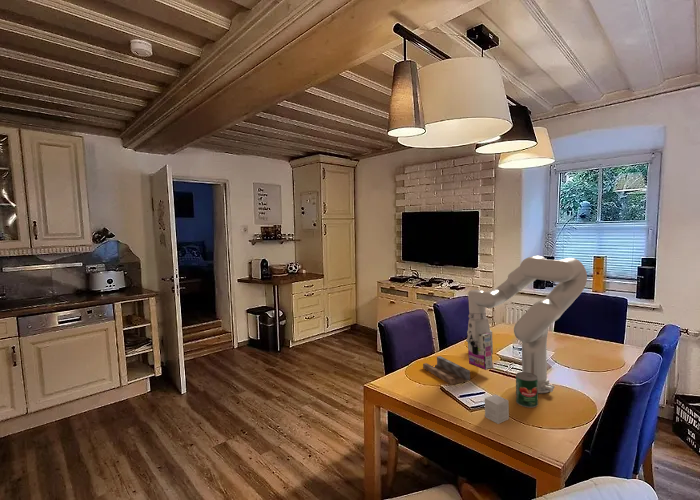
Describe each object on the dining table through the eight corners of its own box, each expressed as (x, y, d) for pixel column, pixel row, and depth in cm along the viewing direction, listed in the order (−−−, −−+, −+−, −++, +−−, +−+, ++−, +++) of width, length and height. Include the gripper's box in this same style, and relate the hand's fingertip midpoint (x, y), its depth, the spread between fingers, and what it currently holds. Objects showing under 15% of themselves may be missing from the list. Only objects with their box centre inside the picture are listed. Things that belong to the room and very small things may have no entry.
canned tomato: (525, 409, 140) (525, 381, 139) (511, 400, 147) (511, 373, 147) (542, 405, 142) (542, 378, 141) (527, 396, 149) (527, 370, 149)
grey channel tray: (470, 380, 167) (469, 370, 167) (451, 385, 163) (451, 375, 163) (440, 364, 188) (439, 356, 187) (423, 368, 183) (422, 359, 183)
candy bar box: (493, 368, 171) (491, 333, 170) (485, 370, 169) (483, 335, 168) (476, 361, 181) (474, 329, 180) (468, 363, 179) (466, 330, 178)
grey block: (495, 412, 138) (495, 393, 138) (509, 419, 133) (509, 400, 133) (484, 417, 135) (484, 398, 135) (498, 424, 130) (497, 404, 130)
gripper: (469, 320, 167) (471, 358, 168) (497, 314, 174) (499, 351, 174) (458, 317, 174) (460, 354, 175) (485, 311, 181) (487, 347, 181)
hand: (479, 352), depth 174 cm, fingers closed on candy bar box, 5 cm apart
